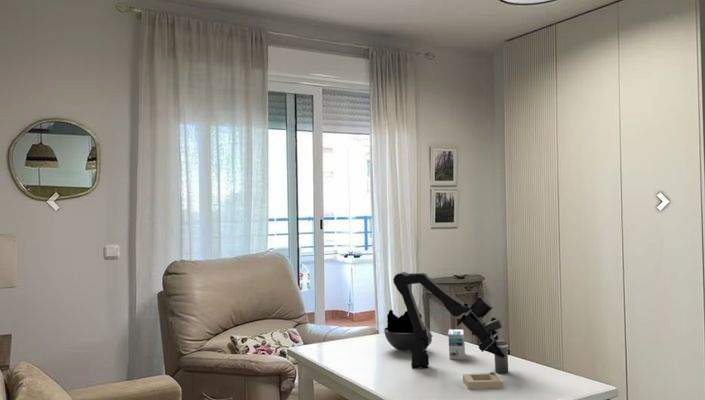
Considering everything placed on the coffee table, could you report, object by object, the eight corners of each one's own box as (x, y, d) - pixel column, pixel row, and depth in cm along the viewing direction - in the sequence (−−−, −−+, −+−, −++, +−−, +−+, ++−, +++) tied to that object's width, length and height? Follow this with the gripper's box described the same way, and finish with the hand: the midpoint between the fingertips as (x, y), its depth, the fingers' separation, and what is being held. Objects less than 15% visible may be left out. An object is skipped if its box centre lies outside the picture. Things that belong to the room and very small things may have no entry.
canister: (496, 374, 215) (495, 342, 215) (493, 370, 220) (492, 339, 220) (510, 373, 215) (509, 342, 215) (506, 369, 220) (505, 339, 220)
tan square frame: (468, 389, 198) (467, 380, 198) (462, 380, 208) (462, 372, 208) (501, 388, 198) (501, 379, 198) (494, 379, 208) (494, 371, 208)
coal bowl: (435, 348, 258) (434, 307, 258) (416, 358, 241) (415, 315, 241) (397, 343, 269) (396, 304, 269) (376, 353, 252) (375, 311, 252)
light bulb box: (465, 359, 237) (464, 334, 237) (448, 359, 238) (448, 334, 238) (465, 353, 247) (464, 329, 247) (449, 353, 248) (448, 328, 249)
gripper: (486, 316, 210) (517, 347, 206) (491, 307, 228) (520, 336, 224) (466, 336, 213) (496, 367, 209) (473, 326, 231) (501, 354, 227)
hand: (504, 355), depth 217 cm, fingers closed on canister, 5 cm apart
